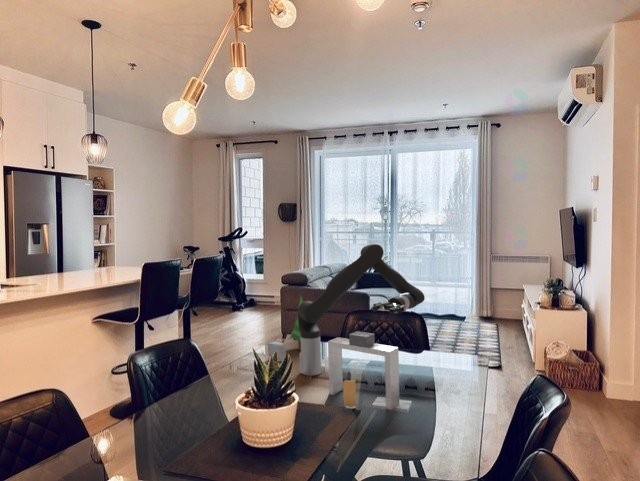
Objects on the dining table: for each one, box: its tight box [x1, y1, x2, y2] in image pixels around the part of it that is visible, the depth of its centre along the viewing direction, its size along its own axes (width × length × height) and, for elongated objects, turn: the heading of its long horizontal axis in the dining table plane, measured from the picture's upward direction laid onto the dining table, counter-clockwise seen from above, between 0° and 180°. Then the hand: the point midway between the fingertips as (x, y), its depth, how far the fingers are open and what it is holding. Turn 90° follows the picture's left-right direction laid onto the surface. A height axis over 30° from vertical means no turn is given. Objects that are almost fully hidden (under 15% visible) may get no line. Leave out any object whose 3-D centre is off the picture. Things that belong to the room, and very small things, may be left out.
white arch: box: [327, 330, 400, 411], centre depth 179 cm, size 28×7×26 cm, turn 54°
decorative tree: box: [289, 296, 304, 351], centre depth 249 cm, size 14×16×30 cm
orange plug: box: [342, 371, 357, 407], centre depth 171 cm, size 5×5×14 cm
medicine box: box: [267, 341, 286, 363], centre depth 231 cm, size 8×4×9 cm, turn 58°
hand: (381, 310), depth 200 cm, fingers open, 8 cm apart
